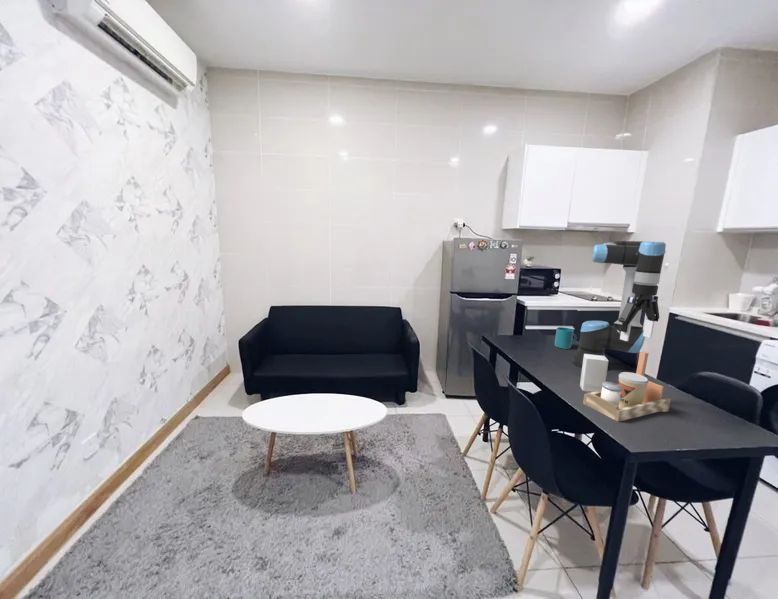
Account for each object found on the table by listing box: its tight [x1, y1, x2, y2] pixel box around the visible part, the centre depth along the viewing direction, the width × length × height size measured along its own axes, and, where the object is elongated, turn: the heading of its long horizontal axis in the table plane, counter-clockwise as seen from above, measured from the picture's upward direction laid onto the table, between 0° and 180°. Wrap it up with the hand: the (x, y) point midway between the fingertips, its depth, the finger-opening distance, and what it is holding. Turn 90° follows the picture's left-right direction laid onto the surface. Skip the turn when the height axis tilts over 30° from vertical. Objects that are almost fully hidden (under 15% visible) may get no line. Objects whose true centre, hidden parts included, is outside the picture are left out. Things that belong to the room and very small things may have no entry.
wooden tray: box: [582, 390, 672, 422], centre depth 131 cm, size 29×14×6 cm, turn 112°
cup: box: [554, 326, 577, 350], centre depth 204 cm, size 9×12×11 cm
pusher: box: [635, 350, 664, 403], centre depth 134 cm, size 4×11×19 cm, turn 22°
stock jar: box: [600, 381, 622, 406], centre depth 127 cm, size 6×6×10 cm
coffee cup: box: [617, 371, 649, 408], centre depth 131 cm, size 9×9×12 cm
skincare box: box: [579, 354, 610, 393], centre depth 144 cm, size 8×7×16 cm
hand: (635, 338), depth 130 cm, fingers open, 13 cm apart
